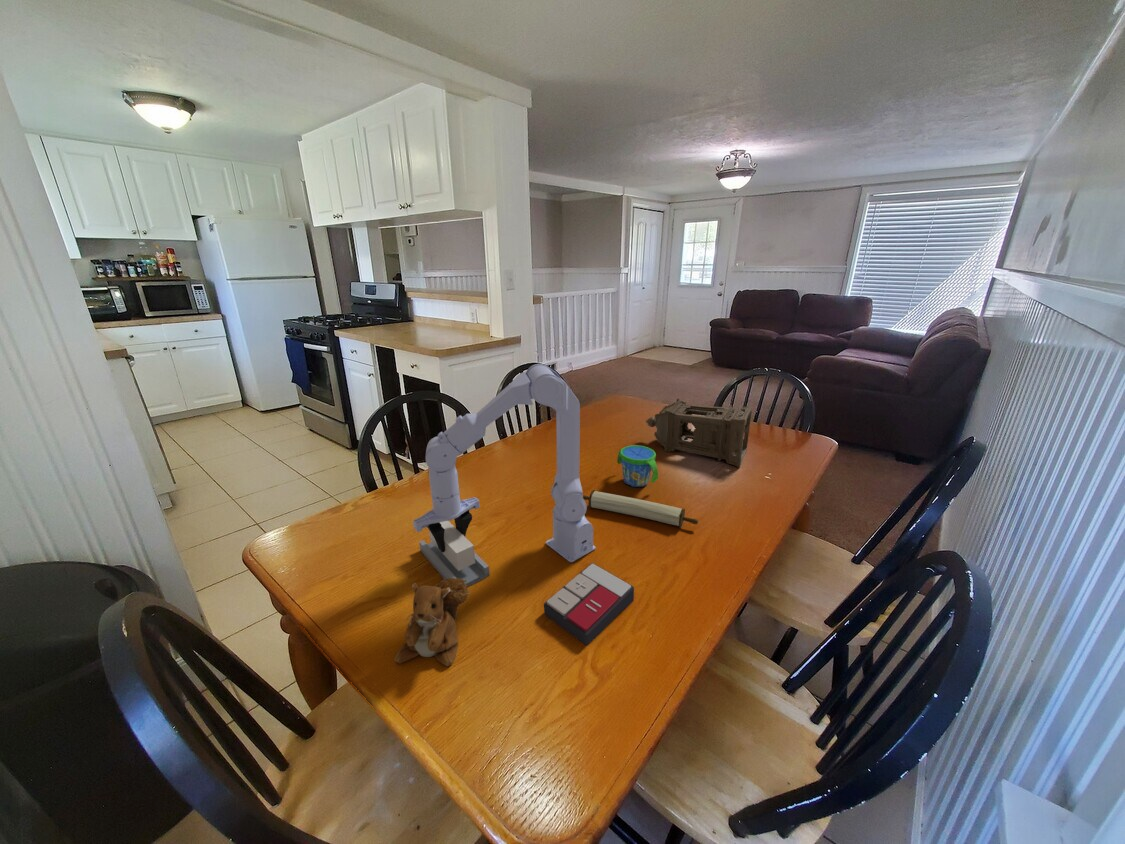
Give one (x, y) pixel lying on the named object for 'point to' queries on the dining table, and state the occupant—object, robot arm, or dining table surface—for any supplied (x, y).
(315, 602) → the dining table surface
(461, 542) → the white rectangular block
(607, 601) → the calculator
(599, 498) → the rolling pin
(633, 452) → the snack cup
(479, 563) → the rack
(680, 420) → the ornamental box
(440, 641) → the stuffed squirrel
